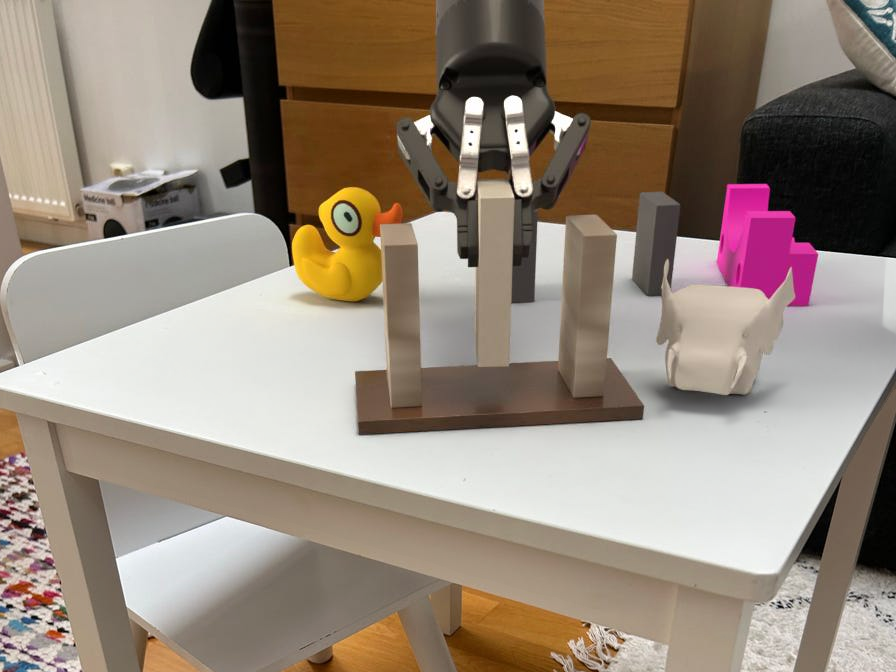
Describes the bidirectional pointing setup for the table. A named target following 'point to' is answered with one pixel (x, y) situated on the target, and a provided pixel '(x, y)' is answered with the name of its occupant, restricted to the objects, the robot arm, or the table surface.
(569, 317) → the book rack
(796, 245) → the toy block
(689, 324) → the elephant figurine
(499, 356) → the beige rectangular block
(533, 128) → the robot arm
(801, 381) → the table surface
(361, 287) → the duckling
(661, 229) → the dark grey upright posts
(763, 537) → the table surface
